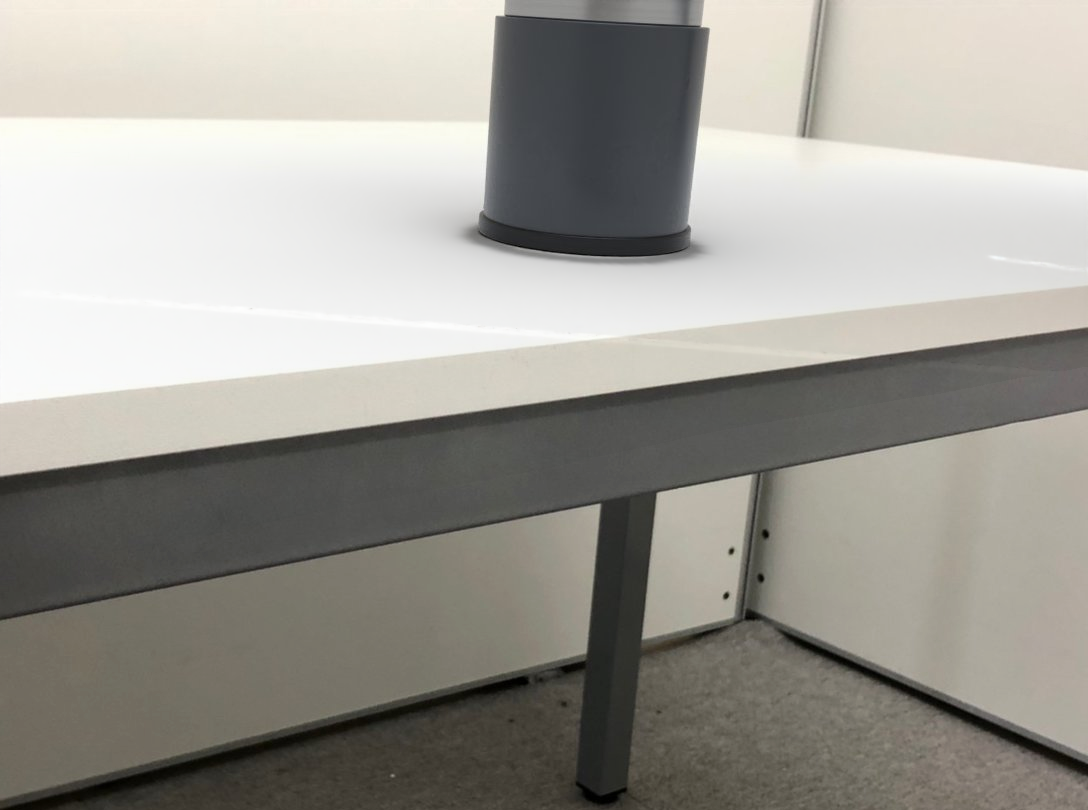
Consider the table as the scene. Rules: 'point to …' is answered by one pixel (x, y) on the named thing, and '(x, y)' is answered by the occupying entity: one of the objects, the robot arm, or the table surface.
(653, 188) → the dark grey upright cylinder
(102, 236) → the table surface
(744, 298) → the table surface
